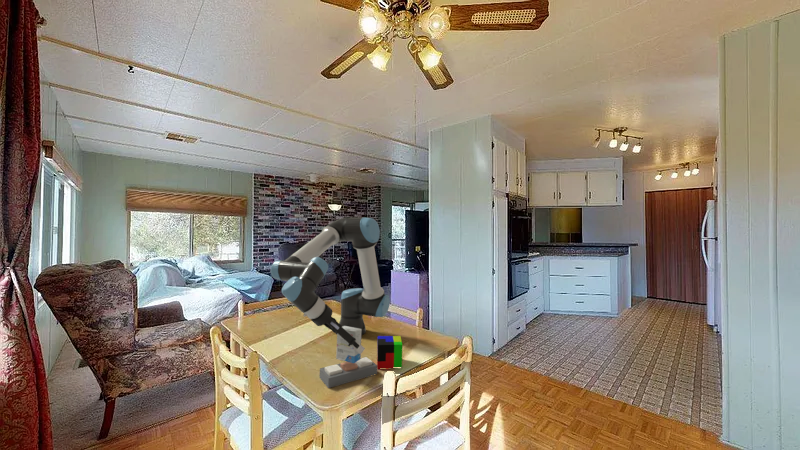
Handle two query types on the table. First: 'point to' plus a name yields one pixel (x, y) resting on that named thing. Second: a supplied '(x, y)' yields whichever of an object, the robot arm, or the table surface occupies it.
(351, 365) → the middle key
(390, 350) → the puzzle toy
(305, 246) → the robot arm
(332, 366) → the key
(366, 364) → the key
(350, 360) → the ink box
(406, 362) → the table surface
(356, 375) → the keypad
